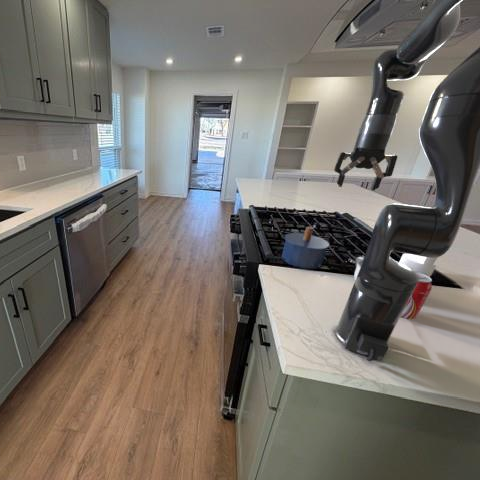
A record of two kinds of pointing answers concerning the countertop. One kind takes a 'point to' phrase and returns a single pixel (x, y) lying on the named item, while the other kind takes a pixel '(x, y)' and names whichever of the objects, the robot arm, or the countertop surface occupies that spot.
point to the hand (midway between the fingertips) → (356, 188)
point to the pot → (302, 256)
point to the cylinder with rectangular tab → (419, 263)
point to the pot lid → (307, 240)
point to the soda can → (418, 296)
